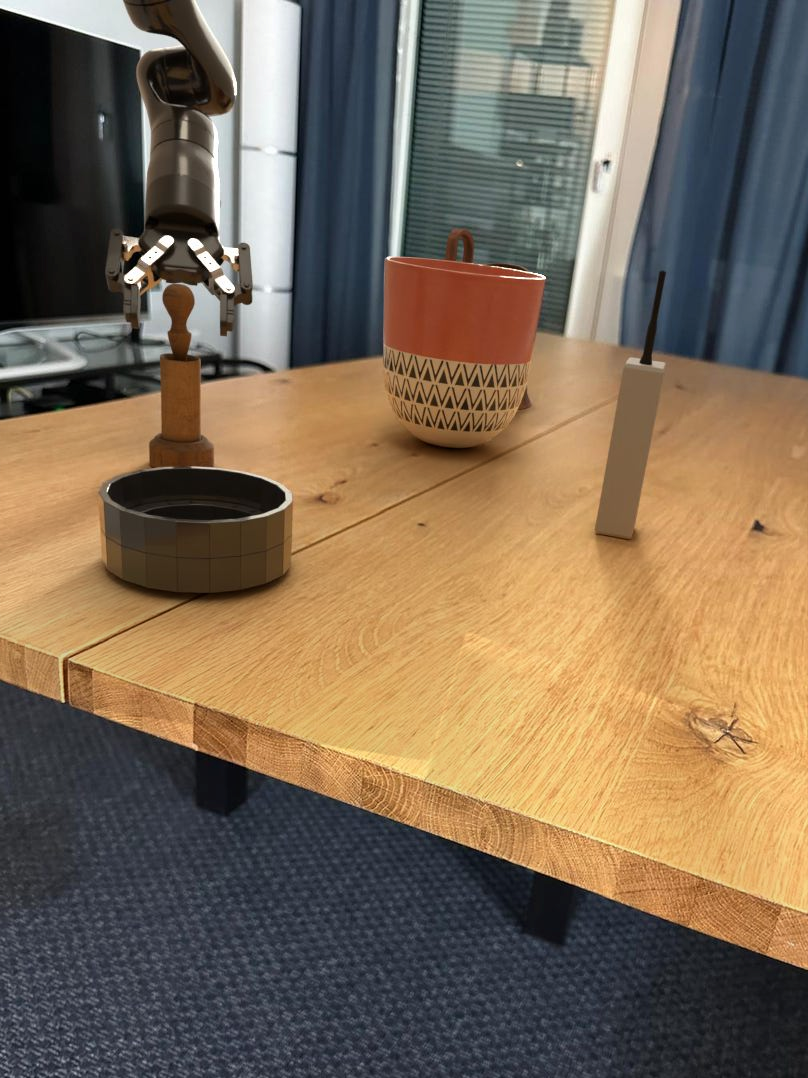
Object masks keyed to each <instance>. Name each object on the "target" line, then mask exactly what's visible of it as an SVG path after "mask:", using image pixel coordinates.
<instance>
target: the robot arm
mask: <svg viewBox="0 0 808 1078" xmlns="http://www.w3.org/2000/svg"><path fill="white" fill-rule="evenodd" d="M122 2H123V5H124V8H125V10H126V13H127V15H128V17H129V19H130V22H131V23H132V24H133V25H134V26H135V28H137V29H138V30H140V31H142V32H145V33H149V34H153V35H161V36H167V37H170V38H172V39H174V40H176V41H177V42H179V43H180V44H181V45H176V46H175V45H174V46H167V47H160V48H153V49H150V50H148V51H146V52H145V53H144V54H142V56H141V57H140V59H139V60H138V62H137V65H136V69H135V71H136V72H135V76H136V82H137V87H138V90H139V92H140V95H141V98H142V101H143V104H144V107H145V110H146V113H147V118H148V123H149V127H150V128H149V129H150V147H149V148H150V150H149V163H148V167H147V171H146V180H145V204H144V205H145V206H144V226H143V227H144V229H143V232H142V233H141V235H140V236H139V237H133V236H126V235H124V232H123V230H122V229H120V228H112V229H111V230H110V234H109V240H108V247H107V255H106V260H105V261H106V262H105V270H104V272H105V279H106V284H107V289H108V290H109V292H111V293H119V292H120V293H122V294H123V306H122V310H123V315H124V319H125V321H126V323H129V324H130V326H131V329H136V330H137V329H138V330H139V329H140V325H141V306H142V305H141V303H142V300H141V296H142V295H143V294H144V293H145V292H146V291H147V290H152V289H155V287H156V286H157V285H158V284H160V282H162V281H165V284H183V285H188V286H195V287H198V285H199V284H202V285H203V286H204V288H205V289H206V290H207V291H208V292H209V294H210V295H211V296H215V297H216V298H217V300H218V301H219V336H220V337H228V332H230V333H231V332H233V331H234V329H235V307H236V306H237V305H239V304H243V305H244V306H251V304H252V303H253V289H254V287H253V286H254V282H253V271H252V260H251V259H252V256H251V247H250V244H248V243H247V242H239V243H238V245H237V247H226V246H225V247H224V246H223V243H222V242H221V236H220V235H221V207H222V200H221V181H220V175H219V135H218V130H217V128H216V125H215V123H214V122H213V120H212V119H211V118H212V117H217V116H218V117H219V116H223V115H227V114H228V113H229V112H231V110H233V107H234V105H235V104H236V100H237V94H238V85H237V80H236V76H235V73H234V70H233V69H234V68H233V67H232V64H231V62H230V60H229V58H228V56H227V54H226V53H225V51H224V50H223V48H222V46H221V45H220V43H219V41H218V40H217V38H216V37H215V35H214V33H213V32H212V30H211V28H210V27H209V25H208V24H207V21H206V19H205V17H204V15H203V14H202V12H201V10H200V7H199V5H198V4H197V2H196V0H122ZM136 252H139V254H140V256H141V257H140V258H139V259H138V260H137V263H136V265H135V266H134V267H133V268H132V269H131V270H129V271H128V272H127V273H126V274H125V273H124V267H125V261H127V262H128V261H129V260H130V259H131V258H132V257H133V255H134V253H136ZM224 262H228V263H229V265H230V267H231V269H233V271H234V272H236V273H238V281H239V283H238V284H233V283H232V282H231V281H230V280H229V278H228V277H227V276H226V275H225V273H224V270H223V269H222V267H221V266H222V265H223V264H224Z"/></svg>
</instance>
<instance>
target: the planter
mask: <svg viewBox="0 0 808 1078" xmlns="http://www.w3.org/2000/svg"><path fill="white" fill-rule="evenodd" d="M546 282H547V277H546V276H544V275H542V274H538V273H533V272H531V273H529V272H524V271H519V270H513V269H507V268H500V267H494V266H487V265H484V264H479V263H473V264H472V263H464V262H462V261H456V262H455V261H446V260H445V259H437V258H436V259H435V258H425V257H410V256H387V257H385V258H384V269H383V323H382V325H383V326H382V328H383V329H382V370H383V371H382V372H383V373H382V374H383V381H384V387H385V392H386V396H387V400H388V402H389V406H390V407H391V410H392V412H393V414H394V415H395V416H396V418H397V419H398V420H399V423H401V424H402V426H403V427H404V428H405V429H406V430H407V431H408V432H409V433H410V434H412V435H413V436H414V437H416V438H417V439H418V440H421V442H425V443H427V444H430V445H433V446H437V447H441V448H446V449H447V448H449V449H469V448H473V447H478V446H481V445H483V444H485V443H487V442H489V441H490V440H492V439H494V437H496V436H497V435H499V434H500V433H501V432H502V431H504V430H505V428H507V426H508V425H509V424H510V423H511V422H512V420H513V419H514V417H515V415H517V414H516V413H517V411H518V410H519V409H518V407H519V405H520V403H521V400H522V397H523V395H524V392H525V388H526V385H528V378H529V375H530V374H529V373H530V369H531V363H532V358H533V354H534V349H535V344H536V343H535V342H536V338H537V331H538V326H539V322H540V316H541V311H542V306H543V301H544V296H545V289H546V285H547V283H546Z"/></svg>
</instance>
